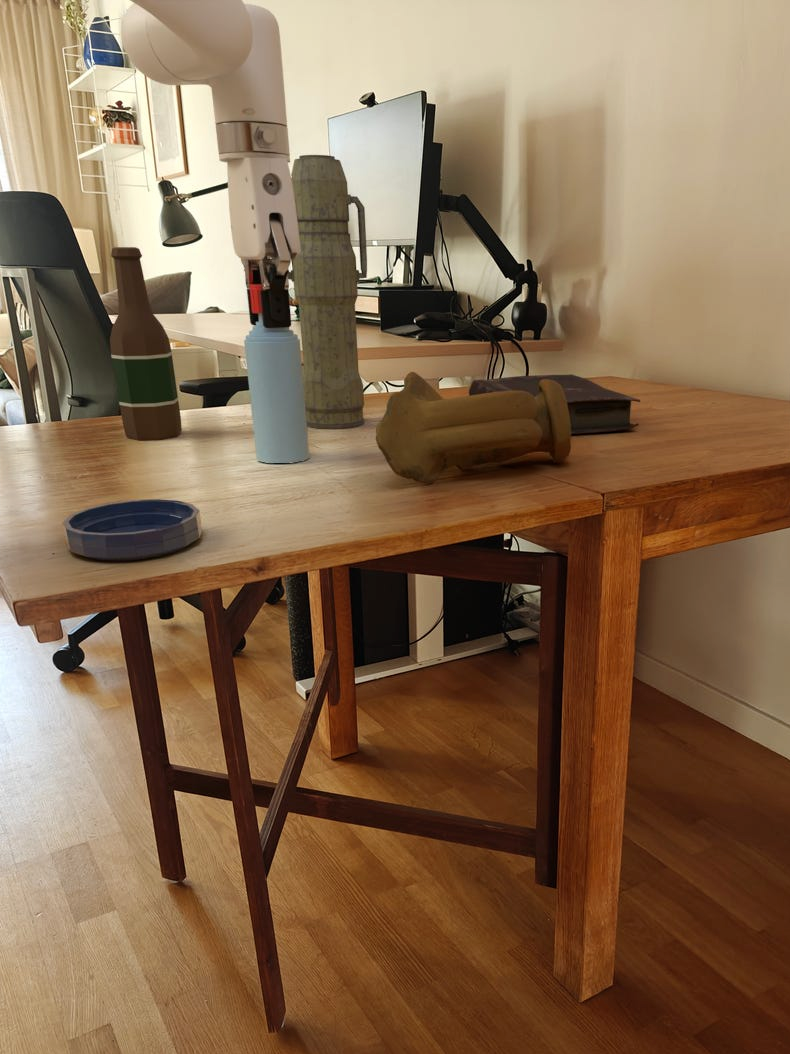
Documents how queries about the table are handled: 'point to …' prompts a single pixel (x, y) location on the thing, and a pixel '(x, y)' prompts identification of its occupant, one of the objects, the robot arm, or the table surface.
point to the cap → (255, 298)
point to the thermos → (328, 292)
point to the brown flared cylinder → (470, 428)
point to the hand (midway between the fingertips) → (270, 324)
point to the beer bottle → (142, 357)
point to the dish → (132, 529)
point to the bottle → (276, 394)
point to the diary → (572, 400)
